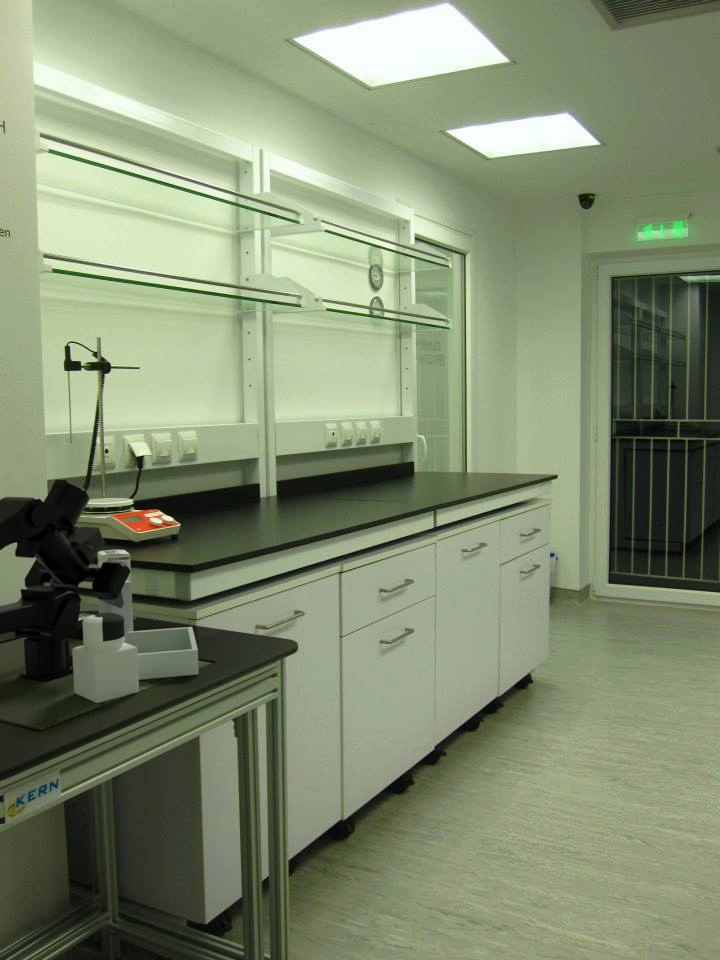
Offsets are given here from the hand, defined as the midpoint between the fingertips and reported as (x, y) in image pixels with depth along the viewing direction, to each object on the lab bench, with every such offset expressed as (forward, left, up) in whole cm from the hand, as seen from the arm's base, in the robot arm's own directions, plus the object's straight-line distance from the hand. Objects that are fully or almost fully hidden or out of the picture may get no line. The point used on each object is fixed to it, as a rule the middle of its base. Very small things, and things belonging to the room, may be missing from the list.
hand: (100, 604), depth 159 cm
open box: (-1, -15, -9) cm, 17 cm away
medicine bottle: (-17, -18, -9) cm, 26 cm away
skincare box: (+4, 0, -9) cm, 10 cm away
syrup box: (+16, +12, -9) cm, 22 cm away
